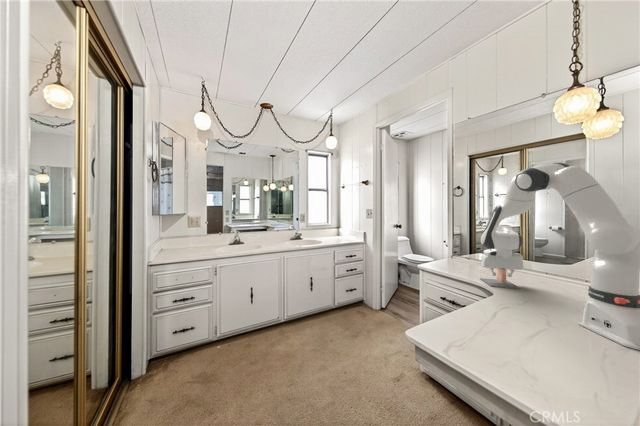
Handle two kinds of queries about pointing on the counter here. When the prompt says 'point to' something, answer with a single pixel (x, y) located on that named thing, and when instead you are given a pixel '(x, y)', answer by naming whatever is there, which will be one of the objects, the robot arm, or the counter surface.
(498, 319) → the counter surface
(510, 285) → the mat
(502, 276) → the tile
